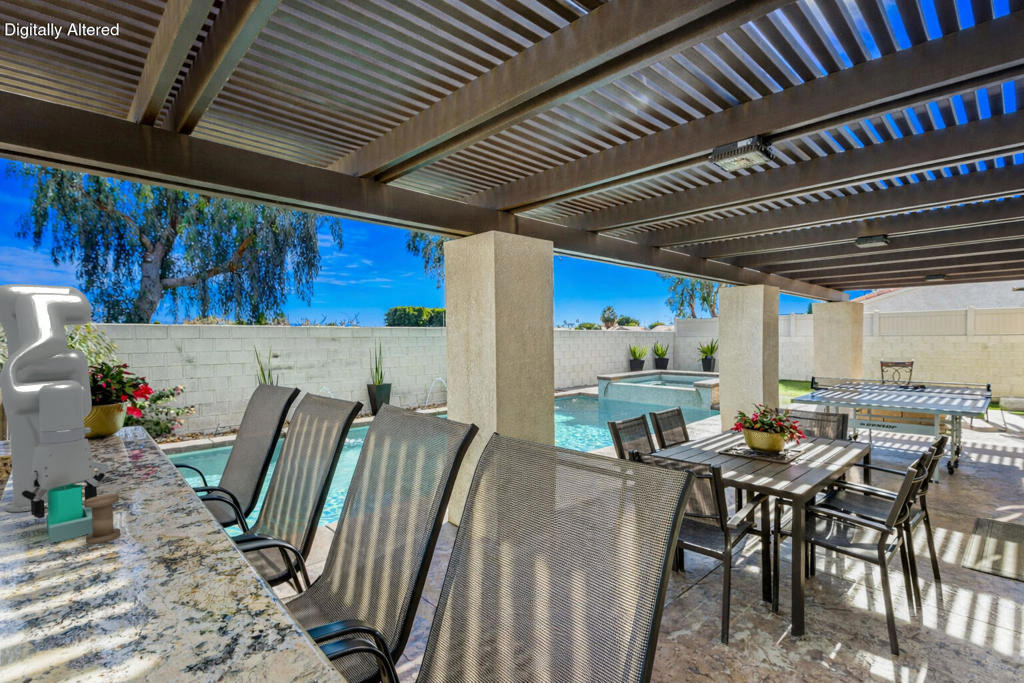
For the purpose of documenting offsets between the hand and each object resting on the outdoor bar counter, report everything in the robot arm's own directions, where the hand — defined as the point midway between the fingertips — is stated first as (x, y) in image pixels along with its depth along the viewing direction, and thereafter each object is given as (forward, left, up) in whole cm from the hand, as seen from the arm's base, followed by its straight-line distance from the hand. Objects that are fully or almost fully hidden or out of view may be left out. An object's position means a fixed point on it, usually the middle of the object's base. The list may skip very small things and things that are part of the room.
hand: (65, 509), depth 114 cm
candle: (0, 0, -5) cm, 5 cm away
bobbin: (+12, +1, -5) cm, 14 cm away
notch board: (0, +1, -5) cm, 5 cm away
